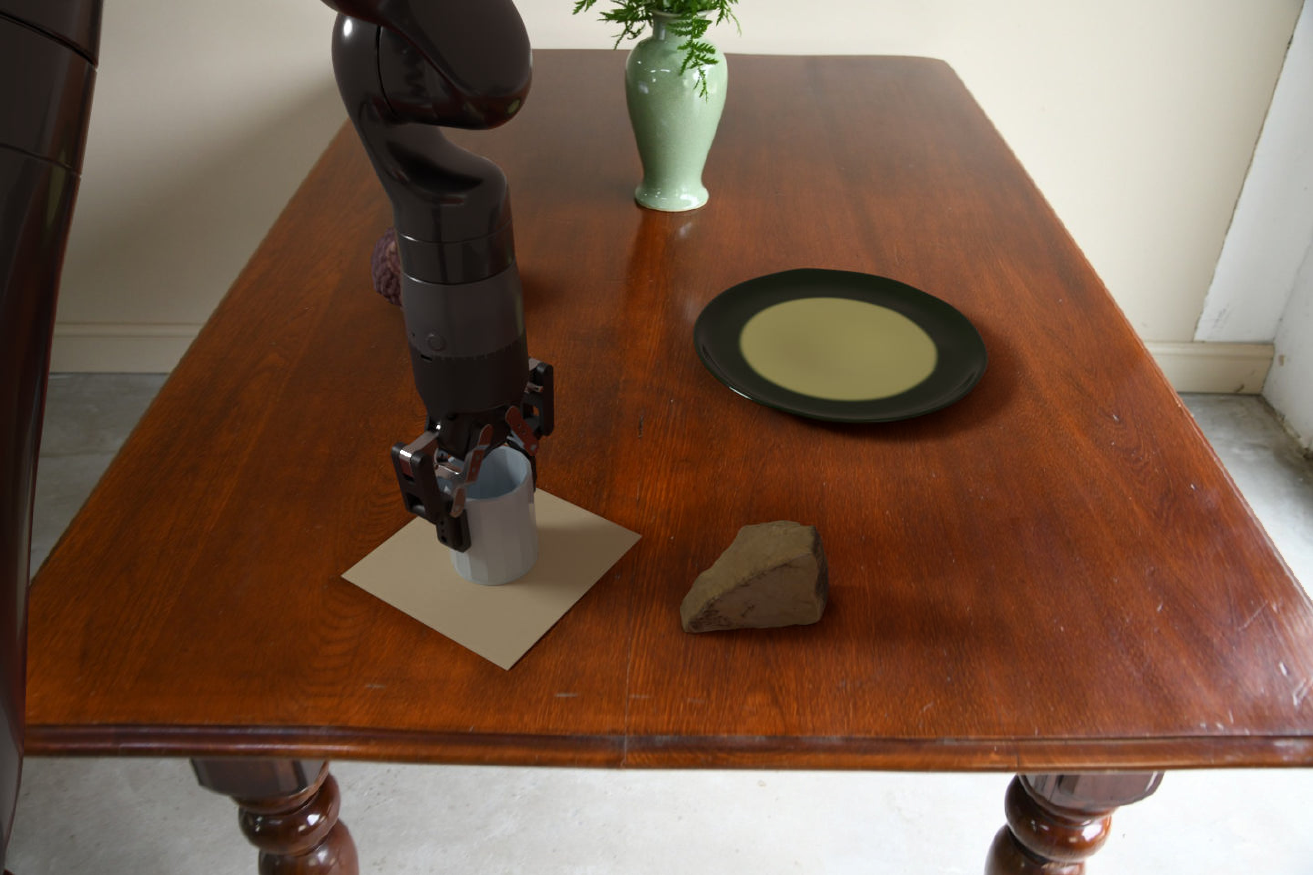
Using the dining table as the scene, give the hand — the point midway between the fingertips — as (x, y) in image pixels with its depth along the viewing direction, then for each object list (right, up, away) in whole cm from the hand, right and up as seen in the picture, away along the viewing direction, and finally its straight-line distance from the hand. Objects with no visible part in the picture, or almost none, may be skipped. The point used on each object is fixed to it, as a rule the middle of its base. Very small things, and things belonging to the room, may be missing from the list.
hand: (490, 517), depth 75 cm
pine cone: (-12, +20, +34) cm, 41 cm away
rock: (+19, -7, -2) cm, 20 cm away
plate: (+30, +14, +25) cm, 41 cm away
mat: (0, -3, +2) cm, 4 cm away
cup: (0, -3, +2) cm, 4 cm away
